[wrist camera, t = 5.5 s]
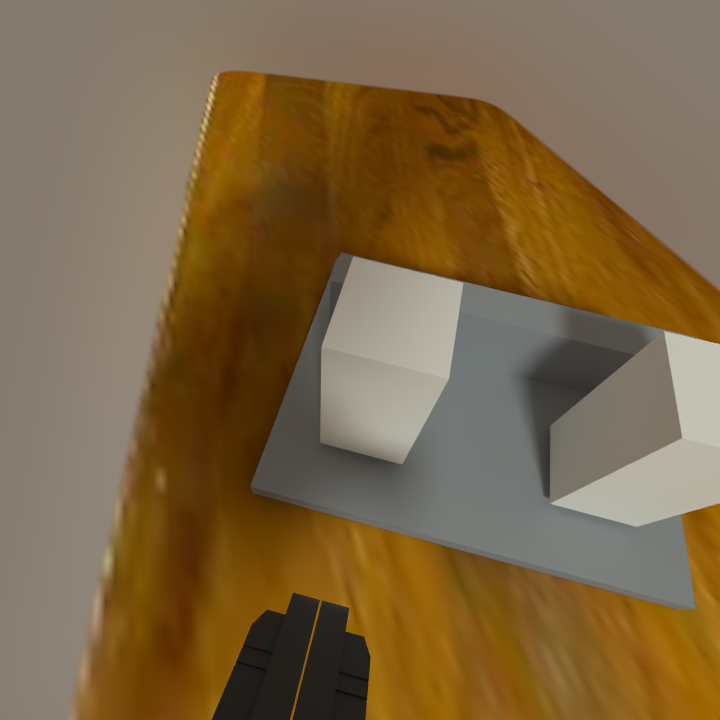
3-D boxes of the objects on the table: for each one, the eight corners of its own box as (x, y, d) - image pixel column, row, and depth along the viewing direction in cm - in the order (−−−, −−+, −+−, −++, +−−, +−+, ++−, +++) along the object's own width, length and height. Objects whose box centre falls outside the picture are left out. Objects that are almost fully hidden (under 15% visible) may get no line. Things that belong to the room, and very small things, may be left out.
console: (675, 609, 19) (782, 606, 15) (253, 493, 20) (235, 458, 16) (640, 343, 27) (703, 289, 23) (336, 269, 28) (340, 204, 24)
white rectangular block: (636, 526, 19) (822, 473, 12) (549, 503, 20) (682, 438, 13) (628, 445, 22) (783, 359, 14) (550, 425, 22) (664, 331, 15)
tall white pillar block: (402, 464, 20) (449, 378, 13) (320, 442, 20) (321, 346, 13) (416, 391, 22) (463, 282, 15) (341, 372, 22) (353, 256, 15)
